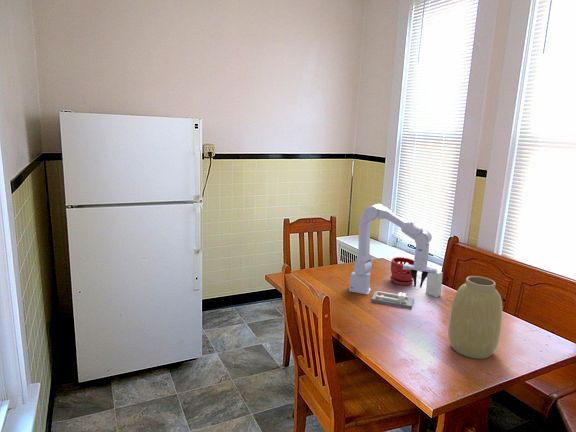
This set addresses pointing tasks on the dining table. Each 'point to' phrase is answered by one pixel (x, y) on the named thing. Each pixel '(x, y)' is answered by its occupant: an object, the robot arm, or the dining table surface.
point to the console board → (392, 300)
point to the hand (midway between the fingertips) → (417, 286)
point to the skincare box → (434, 284)
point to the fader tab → (402, 296)
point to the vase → (476, 318)
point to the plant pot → (401, 271)
